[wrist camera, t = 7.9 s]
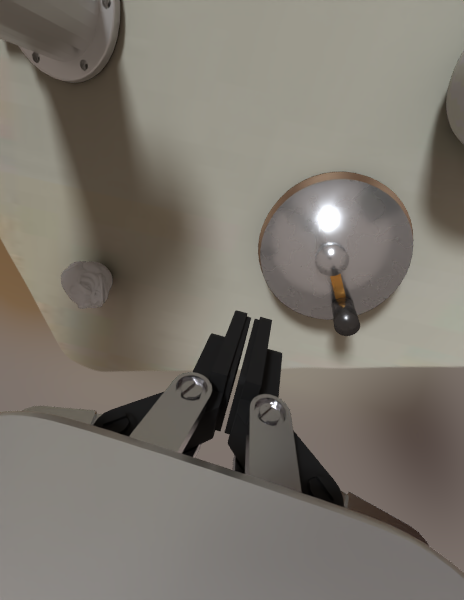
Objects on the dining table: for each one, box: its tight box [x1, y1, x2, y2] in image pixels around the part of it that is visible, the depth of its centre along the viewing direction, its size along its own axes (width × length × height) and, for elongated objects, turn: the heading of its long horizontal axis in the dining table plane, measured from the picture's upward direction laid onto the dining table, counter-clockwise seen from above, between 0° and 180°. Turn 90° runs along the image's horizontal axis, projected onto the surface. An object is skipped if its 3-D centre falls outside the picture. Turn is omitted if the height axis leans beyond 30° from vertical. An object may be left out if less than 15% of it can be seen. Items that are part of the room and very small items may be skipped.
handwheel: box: [260, 179, 413, 336], centre depth 26 cm, size 14×14×6 cm
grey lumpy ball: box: [61, 261, 113, 309], centre depth 37 cm, size 6×7×7 cm
